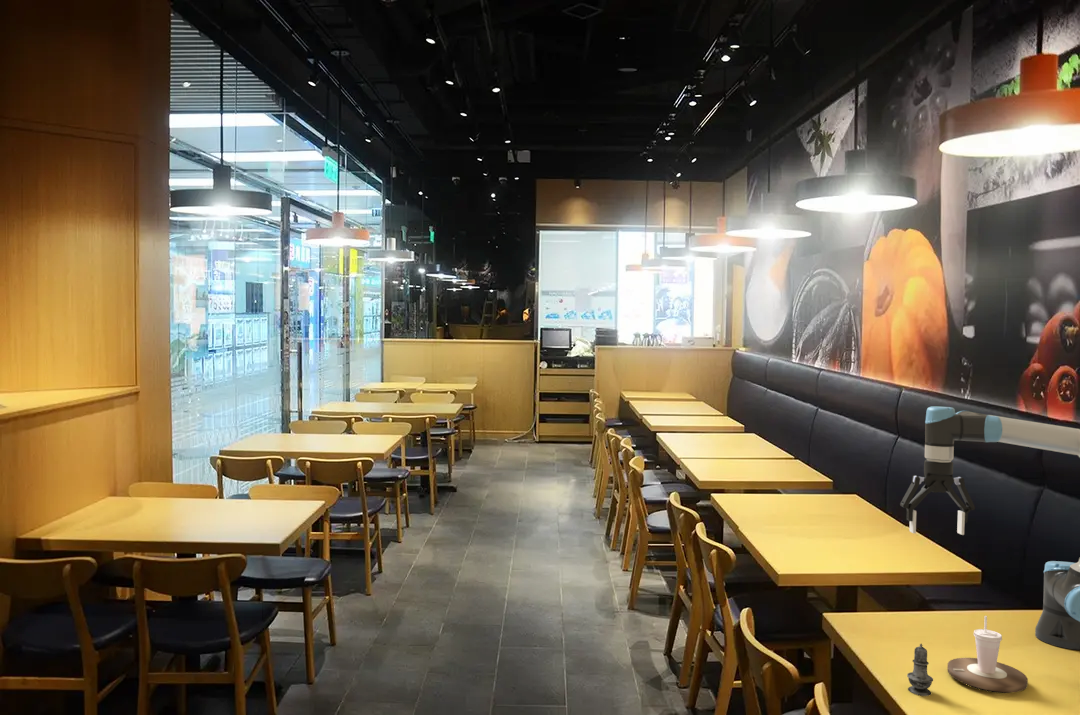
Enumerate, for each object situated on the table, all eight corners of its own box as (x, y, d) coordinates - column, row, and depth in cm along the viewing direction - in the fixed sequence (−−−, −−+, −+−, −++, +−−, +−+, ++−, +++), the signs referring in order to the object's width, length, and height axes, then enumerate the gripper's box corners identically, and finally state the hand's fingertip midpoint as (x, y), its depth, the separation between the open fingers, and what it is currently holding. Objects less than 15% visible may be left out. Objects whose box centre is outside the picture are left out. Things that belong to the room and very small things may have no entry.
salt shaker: (935, 697, 196) (937, 649, 196) (910, 695, 197) (911, 646, 197) (929, 687, 202) (930, 640, 202) (904, 685, 203) (905, 638, 203)
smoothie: (975, 663, 211) (977, 610, 211) (1003, 670, 207) (1004, 616, 206) (970, 671, 206) (971, 617, 206) (998, 678, 202) (999, 622, 202)
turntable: (1004, 664, 215) (1004, 658, 215) (1042, 693, 197) (1042, 687, 197) (935, 661, 216) (935, 655, 216) (967, 690, 198) (967, 684, 198)
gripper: (976, 459, 235) (974, 531, 236) (889, 457, 237) (887, 528, 237) (989, 463, 228) (987, 537, 228) (899, 460, 229) (897, 534, 230)
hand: (936, 533), depth 233 cm, fingers open, 13 cm apart
